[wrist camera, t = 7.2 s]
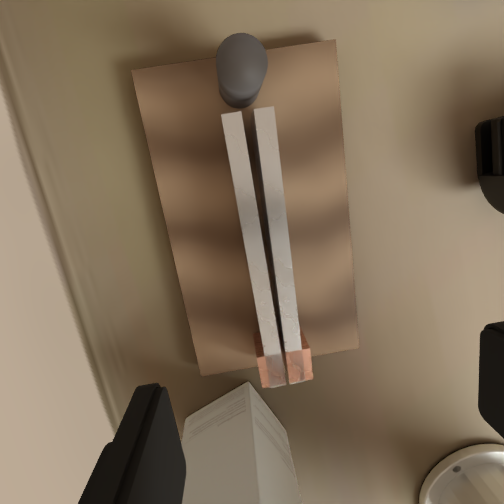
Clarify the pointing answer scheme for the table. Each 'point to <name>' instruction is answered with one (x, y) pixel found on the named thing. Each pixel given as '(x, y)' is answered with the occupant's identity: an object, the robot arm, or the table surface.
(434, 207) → the table surface
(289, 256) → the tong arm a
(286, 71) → the tong board
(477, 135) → the end cap
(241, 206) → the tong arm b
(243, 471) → the supplement box
